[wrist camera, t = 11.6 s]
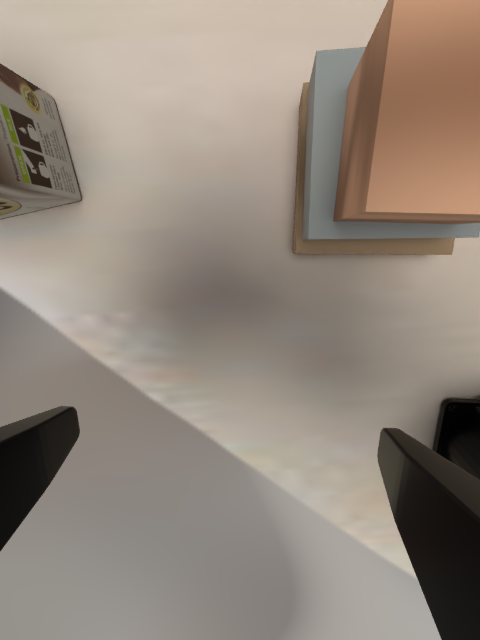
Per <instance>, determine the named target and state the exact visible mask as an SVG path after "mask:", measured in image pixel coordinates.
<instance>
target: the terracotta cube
mask: <svg viewBox="0 0 480 640" xmlns="http://www.w3.org/2000/svg"><path fill="white" fill-rule="evenodd" d="M333 221H354V222H390V223H426V224H468V223H480V0H388V2H387V4H386V6H385V8H384V11H383V13H382V15H381V17H380V19H379V21H378V23H377V25H376V28H375V30H374V32H373V34H372V36H371V38H370V40H369V42H368V45H367V47H366V49H365V51H364V53H363V55H362V57H361V60H360V62H359V64H358V66H357V68H356V70H355V72H354V74H353V77H352V79H351V81H350V83H349V85H348V90H347V99H346V108H345V118H344V127H343V136H342V145H341V154H340V164H339V173H338V182H337V191H336V201H335V210H334V219H333Z"/></svg>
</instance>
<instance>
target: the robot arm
mask: <svg viewBox="0 0 480 640" xmlns="http://www.w3.org/2000/svg"><path fill="white" fill-rule="evenodd" d="M452 405H454V407H453V408H452V409H449V407H450V406H452ZM79 434H80V428H79V422H78V416H77V411H76V409H75V408H74V407H70V406H60V407H57V408H54V409H51V410H48V411H45V412H42V413H39V414H37V415H34V416H31V417H28V418H25V419H22V420H19V421H17V422H14V423H11V424H8V425H5V426H2V427H0V551H1V550H2V549H3V547H4V546H5V544H6V543H7V542H8V540H9V539H10V538H11V536H12V535H13V533H14V532H15V531H16V530H17V528H18V527H19V526H20V524H21V523H22V521H23V520H24V519H25V517H26V516H27V515H28V513H29V512H30V511H31V509H32V508H33V507H34V505H35V504H36V502H37V501H38V500H39V498H40V497H41V495H42V494H43V493H44V492H45V490H46V488H47V487H48V486H49V485H50V483H51V481H52V480H53V478H54V477H55V475H56V473H57V472H58V470H59V469H60V467H61V465H62V464H63V462H64V461H65V459H66V457H67V456H68V454H69V452H70V451H71V449H72V447H73V446H74V444H75V443H76V441H77V439H78V437H79ZM378 463H379V467H380V470H381V474H382V477H383V481H384V485H385V488H386V492H387V495H388V499H389V503H390V506H391V510H392V513H393V516H394V519H395V522H396V525H397V528H398V530H399V533H400V535H401V538H402V540H403V543H404V545H405V548H406V551H407V553H408V556H409V558H410V561H411V563H412V566H413V568H414V571H415V573H416V576H417V578H418V581H419V583H420V586H421V589H422V591H423V594H424V596H425V598H426V601H427V604H428V606H429V609H430V611H431V613H432V616H433V619H434V621H435V624H436V626H437V629H438V632H439V634H440V636H441V639H442V640H480V400H464V399H447V400H445V401H444V402H443V403H442V406H441V412H440V417H439V422H438V427H437V432H436V437H435V442H434V447H433V450H431V449H430V448H428V447H426V446H425V445H423V444H422V443H420V442H419V441H417V440H415V439H414V438H412V437H411V436H409V435H407V434H406V433H404V432H403V431H401V430H400V429H397V428H383V429H382V430H381V433H380V439H379V447H378Z"/></svg>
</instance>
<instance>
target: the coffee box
mask: <svg viewBox="0 0 480 640" xmlns="http://www.w3.org/2000/svg"><path fill="white" fill-rule="evenodd" d="M80 200H81V196H80V192H79V189H78V185H77V181H76V177H75V174H74V170H73V166H72V163H71V159H70V155H69V152H68V148H67V144H66V141H65V137H64V133H63V129H62V126H61V122H60V119H59V115H58V111H57V108H56V105H55V102H54V99H53V98H52V97H51V96H50V95H49V94H48V93H46V92H45V91H43V90H42V89H40V88H38V87H37V86H35V85H33V84H32V83H30V82H29V81H27V80H26V79H24V78H22V77H21V76H19V75H18V74H16V73H14V72H13V71H11V70H10V69H8V68H7V67H5V66H3V65H2V64H0V219H3V218H7V217H11V216H16V215H20V214H24V213H29V212H33V211H37V210H42V209H46V208H50V207H55V206H59V205H63V204H68V203H72V202H77V201H80Z"/></svg>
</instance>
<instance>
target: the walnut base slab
mask: <svg viewBox="0 0 480 640" xmlns="http://www.w3.org/2000/svg"><path fill="white" fill-rule="evenodd" d="M309 83H310V82H309ZM309 83H304V84H303V89H302V95H301V100H300V107H299V129H298V151H297V173H296V195H295V217H294V239H293V252H294V253H295V254H435V255H452V251H453V246H454V240H455V238H383V239H302V234H303V209H304V183H305V158H306V133H307V107H308V87H309Z"/></svg>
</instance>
